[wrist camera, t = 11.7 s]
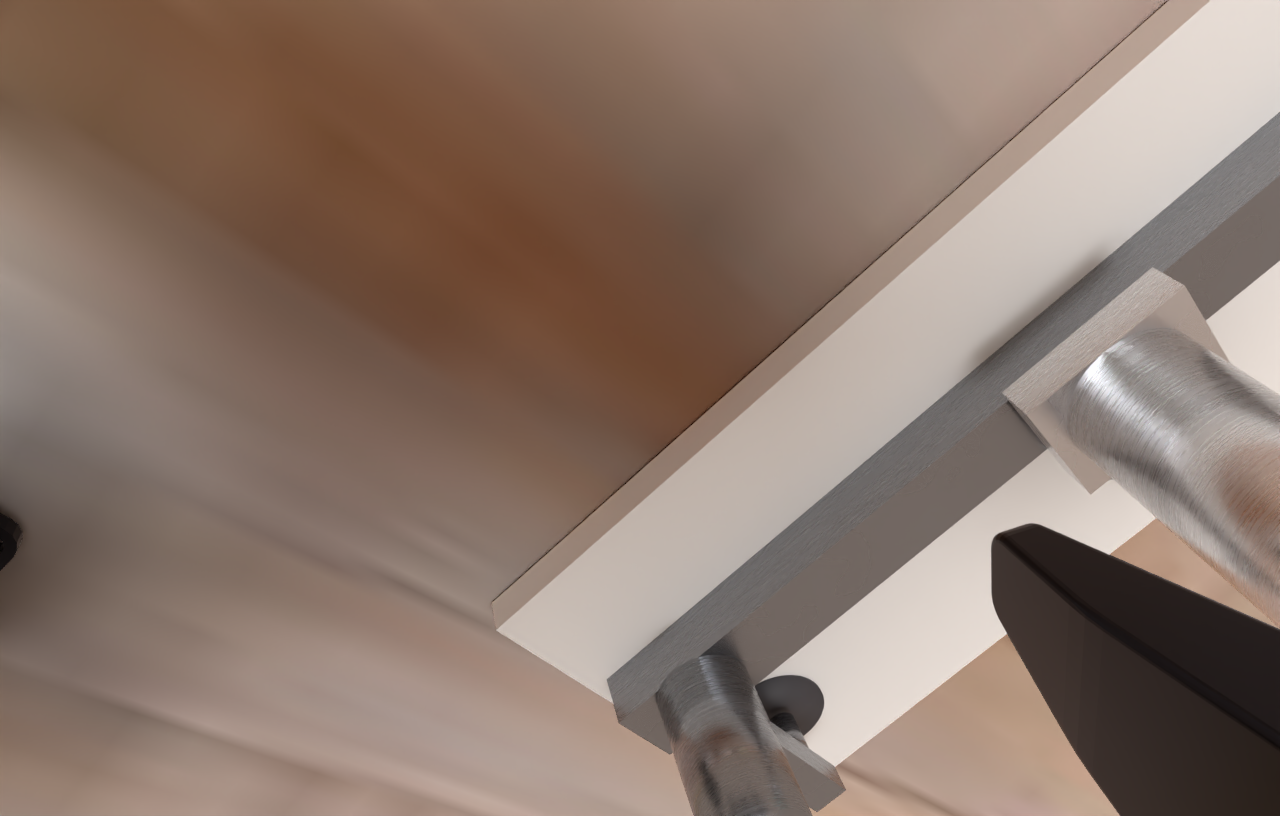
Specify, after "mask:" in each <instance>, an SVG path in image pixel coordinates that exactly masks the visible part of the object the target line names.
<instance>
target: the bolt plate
mask: <svg viewBox="0 0 1280 816" xmlns="http://www.w3.org/2000/svg"><path fill="white" fill-rule="evenodd" d="M1279 112H1280V0H1169V1H1168V2H1166V3H1165V4H1164V5H1163V6H1162V7H1161V8H1160V9H1159V10H1157V11H1156V12H1155V13H1154V14H1153V15H1152V16H1151V17H1150V18H1148V19H1147V20H1146V21H1145V22H1144V23H1143V24H1142V25H1141V26H1139V27H1138V28H1137V29H1136V30H1135V31H1134V32H1133V33H1132V34H1130V35H1129V36H1128V37H1127V38H1126V39H1125V40H1124V41H1123V42H1121V43H1120V44H1119V45H1118V46H1117V47H1116V48H1115V49H1114V50H1112V51H1111V52H1110V53H1109V54H1108V55H1107V56H1106V57H1105V58H1103V59H1102V60H1101V61H1100V62H1099V63H1098V64H1097V65H1096V66H1095V67H1093V68H1092V69H1091V70H1090V71H1089V72H1088V73H1087V74H1086V75H1084V76H1083V77H1082V78H1081V79H1080V80H1079V81H1078V82H1077V83H1075V84H1074V85H1073V86H1072V87H1071V88H1070V89H1069V90H1068V91H1066V92H1065V93H1064V94H1063V95H1062V96H1061V97H1060V98H1059V99H1057V100H1056V101H1055V102H1054V103H1053V104H1052V105H1051V106H1050V107H1048V108H1047V109H1046V110H1045V111H1044V112H1043V113H1042V114H1041V115H1039V116H1038V117H1037V118H1036V119H1035V120H1034V121H1033V122H1032V123H1030V124H1029V125H1028V126H1027V127H1026V128H1025V129H1024V130H1023V131H1021V132H1020V133H1019V134H1018V135H1017V136H1016V137H1015V138H1014V139H1012V140H1011V141H1010V142H1009V143H1008V144H1007V145H1006V146H1005V147H1003V148H1002V149H1001V150H1000V151H999V152H998V153H997V154H996V155H995V156H993V157H992V158H991V159H990V160H989V161H988V162H987V163H986V164H984V165H983V166H982V167H981V168H980V169H979V170H978V171H977V172H975V173H974V174H973V175H972V176H971V177H970V178H969V179H968V180H966V181H965V182H964V183H963V184H962V185H961V186H960V187H959V188H957V189H956V190H955V191H954V192H953V193H952V194H951V195H950V196H948V197H947V198H946V199H945V200H944V201H943V202H942V203H941V204H939V205H938V206H937V207H936V208H935V209H934V210H933V211H932V212H930V213H929V214H928V215H927V216H926V217H925V218H924V219H923V220H921V221H920V222H919V223H918V224H917V225H916V226H915V227H914V228H912V229H911V230H910V231H909V232H908V233H907V234H906V235H905V236H903V237H902V238H901V239H900V240H899V241H898V242H897V243H896V244H894V245H893V246H892V247H891V248H890V249H889V250H888V251H887V252H886V253H884V254H883V255H882V256H881V257H880V258H879V259H878V260H877V261H875V262H874V263H873V264H872V265H871V266H870V267H869V268H868V269H866V270H865V271H864V272H863V273H862V274H861V275H860V276H859V277H857V278H856V279H855V280H854V281H853V282H852V283H851V284H850V285H848V286H847V287H846V288H845V289H844V290H843V291H842V292H841V293H839V294H838V295H837V296H836V297H835V298H834V299H833V300H832V301H830V302H829V303H828V304H827V305H826V306H825V307H824V308H823V309H821V310H820V311H819V312H818V313H817V314H816V315H815V316H814V317H812V318H811V319H810V320H809V321H808V322H807V323H806V324H805V325H803V326H802V327H801V328H800V329H799V330H798V331H797V332H796V333H794V334H793V335H792V336H791V337H790V338H789V339H788V340H787V341H786V342H784V343H783V344H782V345H781V346H780V347H779V348H778V349H777V350H775V351H774V352H773V353H772V354H771V355H770V356H769V357H768V358H766V359H765V360H764V361H763V362H762V363H761V364H760V365H759V366H757V367H756V368H755V369H754V370H753V371H752V372H751V373H750V374H748V375H747V376H746V377H745V378H744V379H743V380H742V381H741V382H739V383H738V384H737V385H736V386H735V387H734V388H733V389H732V390H730V391H729V392H728V393H727V394H726V395H725V396H724V397H723V398H721V399H720V400H719V401H718V402H717V403H716V404H715V405H714V406H712V407H711V408H710V409H709V410H708V411H707V412H706V413H705V414H703V415H702V416H701V417H700V418H699V419H698V420H697V421H696V422H694V423H693V424H692V425H691V426H690V427H689V428H688V429H687V430H686V431H684V432H683V433H682V434H681V435H680V436H679V437H678V438H677V439H675V440H674V441H673V442H672V443H671V444H670V445H669V446H668V447H666V448H665V449H664V450H663V451H662V452H661V453H660V454H659V455H657V456H656V457H655V458H654V459H653V460H652V461H651V462H650V463H648V464H647V465H646V466H645V467H644V468H643V469H642V470H641V471H639V472H638V473H637V474H636V475H635V476H634V477H633V478H632V479H630V480H629V481H628V482H627V483H626V484H625V485H624V486H623V487H621V488H620V489H619V490H618V491H617V492H616V493H615V494H614V495H612V496H611V497H610V498H609V499H608V500H607V501H606V502H605V503H603V504H602V505H601V506H600V507H599V508H598V509H597V510H596V511H594V512H593V513H592V514H591V515H590V516H589V517H588V518H587V519H585V520H584V521H583V522H582V523H581V524H580V525H579V526H578V527H577V528H575V529H574V530H573V531H572V532H571V533H570V534H569V535H568V536H566V537H565V538H564V539H563V540H562V541H561V542H560V543H559V544H557V545H556V546H555V547H554V548H553V549H552V550H551V551H550V552H548V553H547V554H546V555H545V556H544V557H543V558H542V559H541V560H539V561H538V562H537V563H536V564H535V565H534V566H533V567H532V568H530V569H529V570H528V571H527V572H526V573H525V574H524V575H523V576H521V577H520V578H519V579H518V580H517V581H516V582H515V583H514V584H512V585H511V586H510V587H509V588H508V589H507V590H506V591H505V592H503V593H502V594H501V595H500V596H499V597H498V598H497V599H496V600H494V601H493V602H492V609H493V615H494V622H495V628H496V631H498V632H499V633H501V634H503V635H504V636H506V637H507V638H509V639H511V640H512V641H514V642H515V643H517V644H519V645H520V646H522V647H523V648H525V649H526V650H528V651H530V652H531V653H533V654H534V655H536V656H538V657H539V658H541V659H542V660H544V661H546V662H547V663H549V664H550V665H552V666H554V667H555V668H557V669H558V670H560V671H562V672H563V673H565V674H566V675H568V676H569V677H571V678H573V679H574V680H576V681H577V682H579V683H581V684H582V685H584V686H585V687H587V688H589V689H590V690H592V691H593V692H595V693H597V694H598V695H600V696H601V697H603V698H605V699H606V700H608V701H609V702H611V703H613V700H612V697H611V693H610V690H609V686H608V683H607V679H608V678H609V677H610V676H611V675H612V674H614V673H615V672H616V671H617V670H618V669H619V668H621V667H622V666H623V665H624V664H625V663H627V662H628V661H629V660H630V659H631V658H633V657H634V656H635V655H636V654H637V653H638V652H640V651H641V650H642V649H643V648H644V647H646V646H647V645H648V644H649V643H650V642H651V641H653V640H654V639H655V638H656V637H657V636H659V635H660V634H661V633H662V632H663V631H665V630H666V629H667V628H668V627H669V626H670V625H672V624H673V623H674V622H675V621H676V620H678V619H679V618H680V617H681V616H682V615H684V614H685V613H686V612H687V611H688V610H689V609H691V608H692V607H693V606H694V605H695V604H697V603H698V602H699V601H700V600H701V599H702V598H704V597H705V596H706V595H707V594H708V593H710V592H711V591H712V590H713V589H714V588H716V587H717V586H718V585H719V584H720V583H721V582H723V581H724V580H725V579H726V578H727V577H729V576H730V575H731V574H732V573H733V572H735V571H736V570H737V569H738V568H739V567H740V566H742V565H743V564H744V563H745V562H746V561H748V560H749V559H750V558H751V557H752V556H753V555H755V554H756V553H757V552H758V551H759V550H761V549H762V548H763V547H764V546H765V545H767V544H768V543H769V542H770V541H771V540H772V539H774V538H775V537H776V536H777V535H778V534H780V533H781V532H782V531H783V530H784V529H786V528H787V527H788V526H789V525H790V524H791V523H793V522H794V521H795V520H796V519H797V518H799V517H800V516H801V515H802V514H803V513H804V512H806V511H807V510H808V509H809V508H810V507H812V506H813V505H814V504H815V503H816V502H818V501H819V500H820V499H821V498H822V497H823V496H825V495H826V494H827V493H828V492H829V491H831V490H832V489H833V488H834V487H835V486H837V485H838V484H839V483H840V482H841V481H842V480H844V479H845V478H846V477H847V476H848V475H850V474H851V473H852V472H853V471H854V470H855V469H857V468H858V467H859V466H860V465H861V464H863V463H864V462H865V461H866V460H867V459H869V458H870V457H871V456H872V455H873V454H874V453H876V452H877V451H878V450H879V449H880V448H882V447H883V446H884V445H885V444H886V443H887V442H889V441H890V440H891V439H892V438H893V437H895V436H896V435H897V434H898V433H899V432H901V431H902V430H903V429H904V428H905V427H906V426H908V425H909V424H910V423H911V422H912V421H914V420H915V419H916V418H917V417H918V416H920V415H921V414H922V413H923V412H924V411H925V410H927V409H928V408H929V407H930V406H931V405H933V404H934V403H935V402H936V401H937V400H938V399H940V398H941V397H942V396H943V395H944V394H946V393H947V392H948V391H949V390H950V389H952V388H953V387H954V386H955V385H956V384H957V383H959V382H960V381H961V380H962V379H963V378H965V377H966V376H967V375H968V374H969V373H971V372H972V371H973V370H974V369H975V368H976V367H978V366H979V365H980V364H981V363H982V362H984V361H985V360H986V359H987V358H988V357H989V356H991V355H992V354H993V353H994V352H995V351H997V350H998V349H999V348H1000V347H1001V346H1003V345H1004V344H1005V343H1006V342H1007V341H1008V340H1010V339H1011V338H1012V337H1013V336H1014V335H1016V334H1017V333H1018V332H1019V331H1020V330H1022V329H1023V328H1024V327H1025V326H1026V325H1027V324H1029V323H1030V322H1031V321H1032V320H1033V319H1035V318H1036V317H1037V316H1038V315H1039V314H1040V313H1042V312H1043V311H1044V310H1045V309H1046V308H1048V307H1049V306H1050V305H1051V304H1052V303H1054V302H1055V301H1056V300H1057V299H1058V298H1059V297H1061V296H1062V295H1063V294H1064V293H1065V292H1067V291H1068V290H1069V289H1070V288H1071V287H1072V286H1074V285H1075V284H1076V283H1077V282H1078V281H1080V280H1081V279H1082V278H1083V277H1084V276H1086V275H1087V274H1088V273H1089V272H1090V271H1091V270H1093V269H1094V268H1095V267H1096V266H1097V265H1099V264H1100V263H1101V262H1102V261H1103V260H1105V259H1106V258H1107V257H1108V256H1109V255H1110V254H1112V253H1113V252H1114V251H1115V250H1116V249H1118V248H1119V247H1120V246H1121V245H1122V244H1123V243H1125V242H1126V241H1127V240H1128V239H1129V238H1131V237H1132V236H1133V235H1134V234H1135V233H1137V232H1138V231H1139V230H1140V229H1141V228H1142V227H1144V226H1145V225H1146V224H1147V223H1148V222H1150V221H1151V220H1152V219H1153V218H1154V217H1156V216H1157V215H1158V214H1159V213H1160V212H1161V211H1163V210H1164V209H1165V208H1166V207H1167V206H1169V205H1170V204H1171V203H1172V202H1173V201H1174V200H1176V199H1177V198H1178V197H1179V196H1180V195H1182V194H1183V193H1184V192H1185V191H1186V190H1188V189H1189V188H1190V187H1191V186H1192V185H1193V184H1195V183H1196V182H1197V181H1198V180H1199V179H1201V178H1202V177H1203V176H1204V175H1205V174H1207V173H1208V172H1209V171H1210V170H1211V169H1212V168H1214V167H1215V166H1216V165H1217V164H1218V163H1220V162H1221V161H1222V160H1223V159H1224V158H1225V157H1227V156H1228V155H1229V154H1230V153H1231V152H1233V151H1234V150H1235V149H1236V148H1237V147H1239V146H1240V145H1241V144H1242V143H1243V142H1244V141H1246V140H1247V139H1248V138H1249V137H1250V136H1252V135H1253V134H1254V133H1255V132H1256V131H1257V130H1259V129H1260V128H1261V127H1262V126H1263V125H1265V124H1266V123H1267V122H1268V121H1269V120H1271V119H1272V118H1273V117H1274V116H1275V115H1276V114H1278V113H1279ZM1206 322H1207V324H1208V326H1209V327H1210V329H1211V331H1212V332H1213V334H1214V336H1215V338H1216V339H1217V341H1218V343H1219V344H1220V346H1221V348H1222V349H1223V351H1224V353H1225V355H1226V356H1227V358H1228V360H1229V361H1230V363H1231V364H1232V365H1234V366H1236V367H1237V368H1239V369H1240V370H1242V371H1243V372H1245V373H1247V374H1248V375H1250V376H1251V377H1253V378H1254V379H1256V380H1258V381H1259V382H1261V383H1262V384H1264V385H1265V386H1267V387H1269V388H1270V389H1272V390H1273V391H1275V392H1276V393H1278V394H1279V395H1280V261H1279V262H1278V263H1276V264H1275V265H1274V266H1273V267H1271V268H1270V269H1269V270H1268V271H1267V272H1265V273H1264V274H1263V275H1262V276H1260V277H1259V278H1258V279H1257V280H1255V281H1254V282H1253V283H1252V284H1250V285H1249V286H1248V287H1247V288H1246V289H1244V290H1243V291H1242V292H1241V293H1239V294H1238V295H1237V296H1236V297H1234V298H1233V299H1232V300H1231V301H1229V302H1228V303H1227V304H1226V305H1225V306H1223V307H1222V308H1221V309H1220V310H1218V311H1217V312H1216V313H1215V314H1213V315H1212V316H1211V317H1210V318H1209V319H1207V320H1206ZM1154 519H1156V517H1154V516H1153V515H1152V514H1151V513H1150V512H1149V511H1148V510H1147V509H1146V508H1144V507H1143V506H1142V505H1141V504H1140V503H1139V502H1138V501H1137V500H1135V499H1134V498H1133V497H1132V496H1131V495H1130V494H1129V493H1128V492H1126V491H1125V490H1124V489H1123V488H1122V487H1121V486H1120V485H1119V484H1118V483H1116V482H1115V481H1114V480H1113V479H1112V478H1111V479H1110V480H1109V481H1107V482H1106V483H1105V484H1103V485H1102V486H1101V487H1100V488H1098V489H1097V490H1096V491H1095V492H1093V493H1092V494H1091V495H1090V494H1089V493H1088V492H1087V491H1086V490H1085V489H1084V488H1083V487H1082V486H1081V485H1080V484H1079V483H1078V482H1077V481H1075V480H1074V479H1073V478H1072V477H1071V476H1070V475H1069V474H1068V473H1067V472H1066V471H1065V470H1064V469H1063V468H1062V466H1061V465H1060V464H1059V463H1058V461H1057V460H1056V459H1055V458H1054V456H1053V455H1052V454H1051V453H1050V451H1049V450H1048V449H1047V450H1046V451H1044V452H1043V453H1042V454H1041V455H1039V456H1038V457H1037V458H1036V459H1034V460H1033V461H1032V462H1031V463H1030V464H1028V465H1027V466H1026V467H1025V468H1023V469H1022V470H1021V471H1020V472H1018V473H1017V474H1016V475H1015V476H1013V477H1012V478H1011V479H1010V480H1009V481H1007V482H1006V483H1005V484H1004V485H1002V486H1001V487H1000V488H999V489H997V490H996V491H995V492H994V493H992V494H991V495H990V496H989V497H988V498H986V499H985V500H984V501H983V502H981V503H980V504H979V505H978V506H976V507H975V508H974V509H973V510H971V511H970V512H969V513H968V514H967V515H965V516H964V517H963V518H962V519H960V520H959V521H958V522H957V523H955V524H954V525H953V526H952V527H951V528H949V529H948V530H947V531H946V532H944V533H943V534H942V535H941V536H939V537H938V538H937V539H936V540H934V541H933V542H932V543H931V544H930V545H928V546H927V547H926V548H925V549H923V550H922V551H921V552H920V553H918V554H917V555H916V556H915V557H913V558H912V559H911V560H910V561H909V562H907V563H906V564H905V565H904V566H902V567H901V568H900V569H899V570H897V571H896V572H895V573H894V574H892V575H891V576H890V577H889V578H888V579H886V580H885V581H884V582H883V583H881V584H880V585H879V586H878V587H876V588H875V589H874V590H873V591H871V592H870V593H869V594H868V595H867V596H865V597H864V598H863V599H862V600H860V601H859V602H858V603H857V604H855V605H854V606H853V607H852V608H851V609H849V610H848V611H847V612H846V613H844V614H843V615H842V616H841V617H839V618H838V619H837V620H836V621H834V622H833V623H832V624H831V625H830V626H828V627H827V628H826V629H825V630H823V631H822V632H821V633H820V634H818V635H817V636H816V637H815V638H813V639H812V640H811V641H810V642H809V643H807V644H806V645H805V646H804V647H802V648H801V649H800V650H799V651H797V652H796V653H795V654H794V655H792V656H791V657H790V658H789V659H788V660H786V661H785V662H784V663H783V664H781V665H780V666H779V667H778V668H776V669H775V670H774V671H773V672H772V673H770V674H769V675H768V676H767V677H765V678H764V679H763V680H762V681H760V682H759V683H758V684H757V685H755V689H756V691H757V693H758V695H759V697H760V700H761V702H762V704H763V706H764V709H765V711H766V713H767V715H768V718H769V720H770V719H771V718H772V717H773V716H775V715H777V714H779V713H783V712H787V713H791V714H792V715H793V716H794V718H795V720H796V722H797V724H798V726H799V728H800V730H801V733H802V735H803V737H804V739H805V741H806V743H807V745H808V747H809V749H811V750H812V751H813V752H815V753H816V754H818V755H819V756H821V757H822V758H824V759H825V760H826V761H828V762H829V763H831V764H832V765H834V767H835V766H837V765H838V764H839V763H841V762H842V761H843V760H844V759H846V758H847V757H848V756H850V755H851V754H852V753H853V752H855V751H856V750H857V749H859V748H860V747H861V746H862V745H864V744H865V743H866V742H868V741H869V740H870V739H872V738H873V737H874V736H875V735H877V734H878V733H879V732H881V731H882V730H883V729H884V728H886V727H887V726H888V725H890V724H891V723H892V722H893V721H895V720H896V719H897V718H899V717H900V716H901V715H903V714H904V713H905V712H906V711H908V710H909V709H910V708H912V707H913V706H914V705H915V704H917V703H918V702H919V701H921V700H922V699H923V698H924V697H926V696H927V695H928V694H930V693H931V692H932V691H934V690H935V689H936V688H937V687H939V686H940V685H941V684H943V683H944V682H945V681H946V680H948V679H949V678H950V677H952V676H953V675H954V674H955V673H957V672H958V671H959V670H961V669H962V668H963V667H965V666H966V665H967V664H968V663H970V662H971V661H972V660H974V659H975V658H976V657H977V656H979V655H980V654H981V653H983V652H984V651H985V650H986V649H988V648H989V647H990V646H992V645H993V644H994V643H996V642H997V641H998V640H999V639H1001V638H1002V637H1003V636H1005V635H1006V634H1007V633H1006V631H1005V629H1004V627H1003V626H1002V624H1001V622H1000V620H999V618H998V616H997V614H996V611H995V609H994V605H993V601H992V594H991V544H992V540H993V538H994V536H995V535H996V534H998V533H1000V532H1003V531H1006V530H1009V529H1012V528H1015V527H1018V526H1022V525H1025V524H1028V523H1035V524H1040V525H1042V526H1045V527H1047V528H1050V529H1052V530H1054V531H1056V532H1059V533H1061V534H1063V535H1066V536H1068V537H1070V538H1072V539H1075V540H1077V541H1079V542H1082V543H1084V544H1086V545H1088V546H1091V547H1093V548H1095V549H1098V550H1100V551H1102V552H1104V553H1107V554H1110V553H1112V552H1113V551H1114V550H1116V549H1117V548H1118V547H1120V546H1121V545H1122V544H1123V543H1125V542H1126V541H1127V540H1129V539H1130V538H1131V537H1132V536H1134V535H1135V534H1136V533H1138V532H1139V531H1140V530H1141V529H1143V528H1144V527H1145V526H1147V525H1148V524H1149V523H1151V522H1152V521H1153V520H1154Z"/></svg>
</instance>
